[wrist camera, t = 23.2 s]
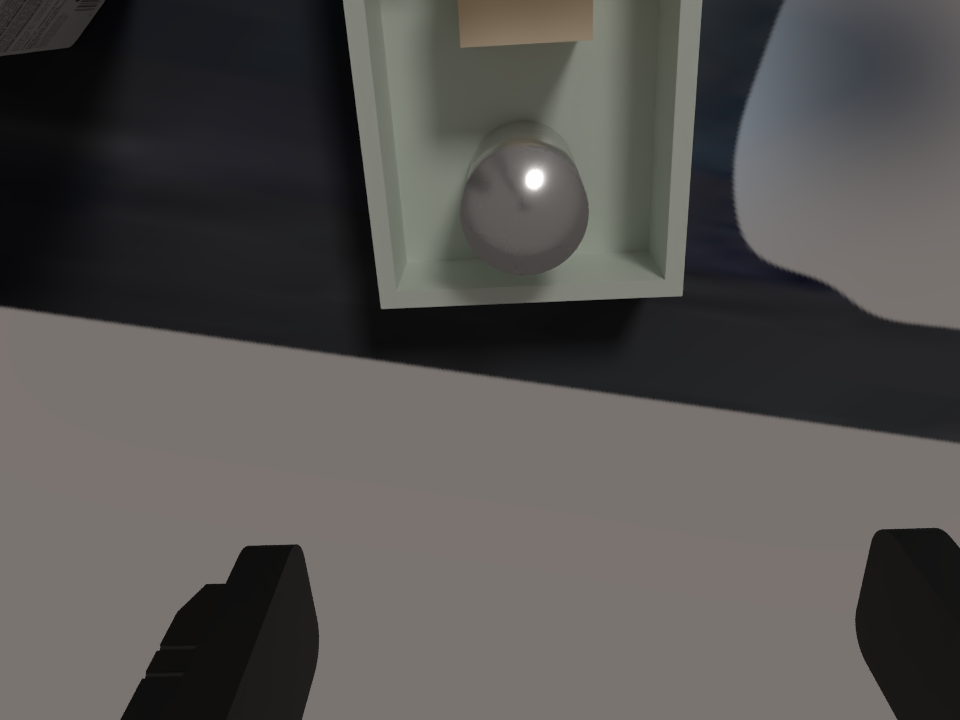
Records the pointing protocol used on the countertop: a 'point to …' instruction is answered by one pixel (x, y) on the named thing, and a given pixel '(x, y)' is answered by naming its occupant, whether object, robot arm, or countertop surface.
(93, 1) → the coffee box
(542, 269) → the grey metal cylinder
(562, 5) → the beech cube
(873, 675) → the robot arm
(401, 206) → the tote
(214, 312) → the countertop surface
